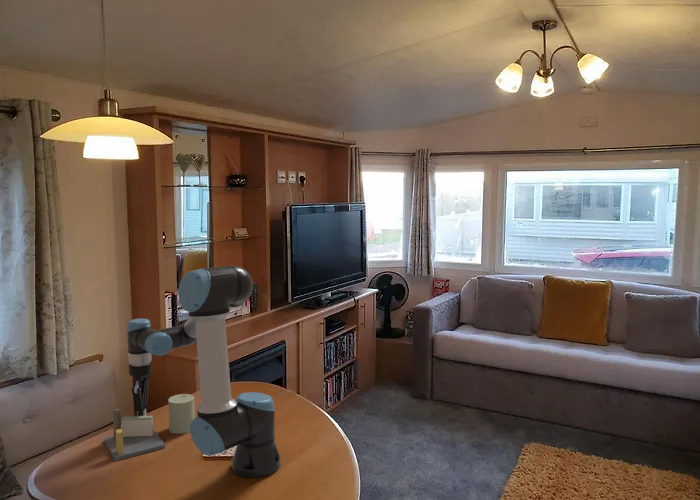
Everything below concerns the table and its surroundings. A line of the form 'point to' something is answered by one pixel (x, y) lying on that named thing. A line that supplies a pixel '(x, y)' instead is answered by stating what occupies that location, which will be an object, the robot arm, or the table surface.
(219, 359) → the robot arm
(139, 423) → the white framed panel
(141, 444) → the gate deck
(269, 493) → the table surface
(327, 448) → the table surface
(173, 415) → the can
